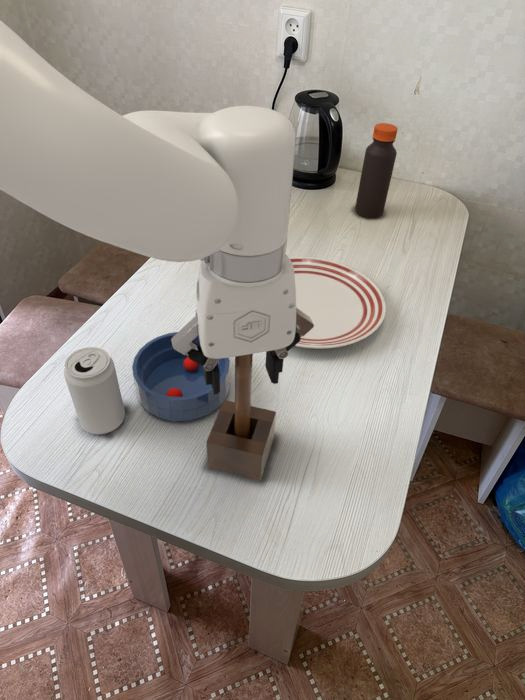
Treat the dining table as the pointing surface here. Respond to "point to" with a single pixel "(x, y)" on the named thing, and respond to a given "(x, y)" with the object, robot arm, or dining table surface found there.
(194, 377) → the bowl
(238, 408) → the stirring stick
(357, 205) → the bottle
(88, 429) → the beverage can
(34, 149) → the robot arm
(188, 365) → the tomato
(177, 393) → the tomato
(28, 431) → the dining table surface
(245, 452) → the holder
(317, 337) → the dinner plate
